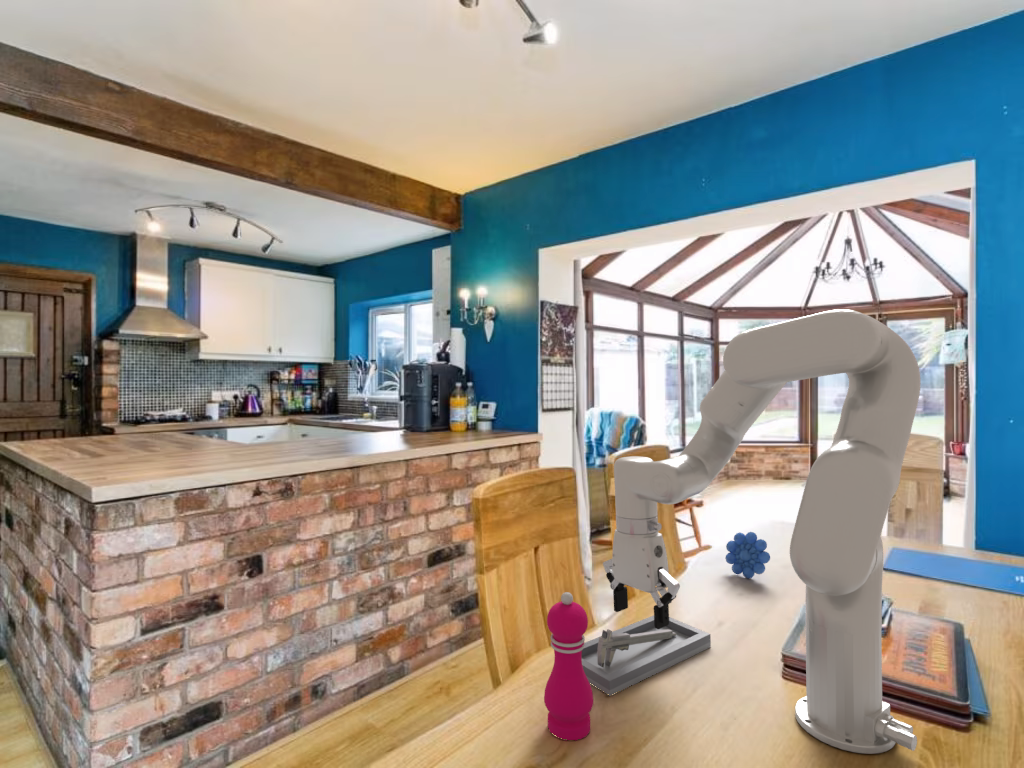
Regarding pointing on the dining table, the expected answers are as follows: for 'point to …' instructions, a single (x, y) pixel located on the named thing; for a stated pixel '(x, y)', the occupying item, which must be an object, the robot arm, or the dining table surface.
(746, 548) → the blue bumpy cluster
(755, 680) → the dining table surface
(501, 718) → the dining table surface
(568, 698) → the pepper mill
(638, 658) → the tool case
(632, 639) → the caliper
